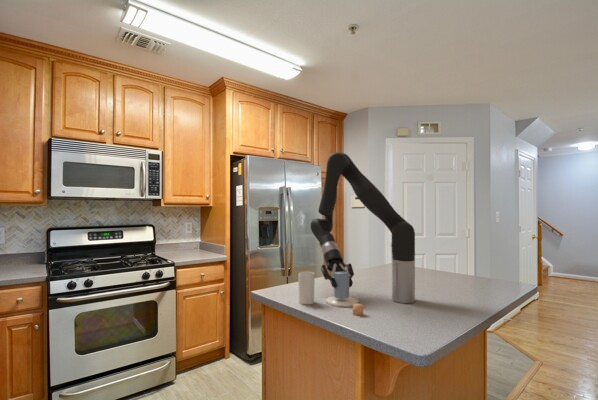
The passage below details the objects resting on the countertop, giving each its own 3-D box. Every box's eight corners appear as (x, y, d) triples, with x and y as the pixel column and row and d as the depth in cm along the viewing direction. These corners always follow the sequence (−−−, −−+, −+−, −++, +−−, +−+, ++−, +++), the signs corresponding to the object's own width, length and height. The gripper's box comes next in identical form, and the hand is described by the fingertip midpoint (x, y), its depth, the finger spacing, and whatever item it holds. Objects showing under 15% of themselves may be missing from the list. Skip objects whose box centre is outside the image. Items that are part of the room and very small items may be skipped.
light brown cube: (356, 312, 122) (356, 302, 122) (364, 314, 120) (364, 304, 120) (351, 314, 119) (351, 305, 119) (359, 316, 117) (359, 306, 117)
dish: (337, 296, 144) (337, 294, 144) (363, 302, 135) (363, 299, 136) (319, 302, 134) (319, 300, 134) (346, 309, 126) (346, 306, 126)
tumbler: (339, 293, 139) (339, 270, 139) (351, 296, 135) (351, 272, 135) (331, 296, 135) (331, 272, 135) (343, 299, 131) (343, 274, 131)
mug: (316, 304, 132) (316, 274, 132) (299, 305, 130) (300, 275, 131) (310, 297, 141) (311, 270, 142) (295, 298, 140) (295, 270, 141)
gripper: (319, 249, 140) (330, 282, 129) (348, 248, 145) (362, 280, 133) (314, 259, 145) (324, 292, 134) (343, 258, 150) (355, 290, 138)
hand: (343, 286), depth 134 cm, fingers closed on tumbler, 6 cm apart
